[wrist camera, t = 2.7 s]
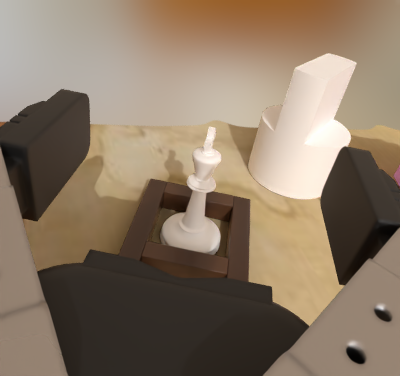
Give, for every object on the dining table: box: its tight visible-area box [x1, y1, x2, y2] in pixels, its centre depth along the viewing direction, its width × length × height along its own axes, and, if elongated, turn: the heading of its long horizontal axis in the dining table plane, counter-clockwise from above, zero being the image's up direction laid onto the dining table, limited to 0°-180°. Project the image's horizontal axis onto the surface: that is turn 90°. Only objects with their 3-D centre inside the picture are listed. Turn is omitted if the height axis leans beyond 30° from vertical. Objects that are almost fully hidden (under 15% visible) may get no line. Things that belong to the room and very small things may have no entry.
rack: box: [119, 179, 250, 282], centre depth 26 cm, size 9×16×2 cm, turn 173°
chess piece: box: [160, 127, 221, 255], centre depth 27 cm, size 5×5×10 cm
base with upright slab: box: [248, 53, 357, 199], centre depth 36 cm, size 9×9×12 cm
